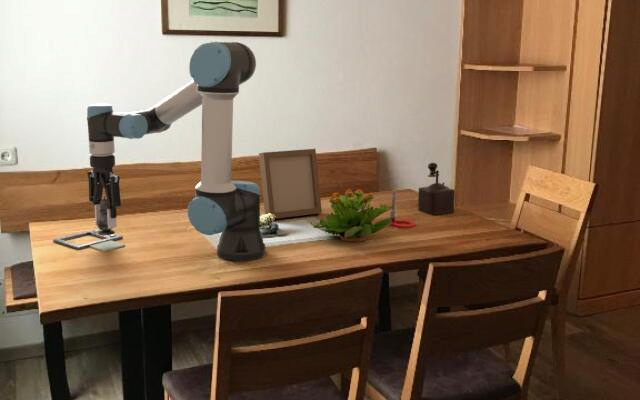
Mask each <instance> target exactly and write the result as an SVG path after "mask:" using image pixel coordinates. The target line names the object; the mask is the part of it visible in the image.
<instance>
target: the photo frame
mask: <svg viewBox="0 0 640 400" xmlns="http://www.w3.org/2000/svg"><path fill="white" fill-rule="evenodd" d="M316 153H317V152H316V148H308V149H305V148H304V149H291V150H282V151H281V150H279V151H267V152H260V153H258V160H259V169H260V179H261V189H262V198H263V207H264V215H265V214H268V213H271V214H274V215H275V216H276V220H277V219H282V218H283V219H285V218H292V217H293V218H294V217H299V216H306V215H316V214H323V210H322V203H321V202H322V201H321V199H322V198H321V189H320V180H319V171H318V160H317V154H316Z"/></svg>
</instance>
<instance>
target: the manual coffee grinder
mask: <svg viewBox="0 0 640 400" xmlns="http://www.w3.org/2000/svg"><path fill="white" fill-rule="evenodd" d="M427 168H428V170H429V174H428V175H427V177H428V178H435V182H434V183H432V184H430V185H428V186H422V187H418V198H417V199H418V201H417V203H418V205H417V206H418V208H417V209H418V211H420V212H422V213H423V214H424V213H425V214H428V215H430V216H442V215H443V216H444V215H448V214H454V213H455V211H454V209H455V193H456V192H455V191H456V190H455V189H452V188H450V187H449V186H448V185H445V182H442V183H440V182H439V176H440V171H439V169H437V168H438V164H437V163H435V162H430V163H428V165H427Z"/></svg>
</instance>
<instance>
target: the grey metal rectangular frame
mask: <svg viewBox="0 0 640 400" xmlns="http://www.w3.org/2000/svg"><path fill="white" fill-rule="evenodd" d="M99 231H101V230H100V229H99V228H96V229H92V230H86V231H83V232H78V233H73V234H71V235H66V236H62V237H57V238H53V239H52V241H53V243H57V244H59V245H63V246H66V247H69V248H72V249H74V250H77V251H79V250H82V249H87V248H91V247H90V246H91V245H94V244H98V243H102V242H106V241H110V240H111V241H117V240H121V239H123V238H124V237H123V235H121V234H118V233H114V234H111V235H99V234H98V232H99ZM83 236H84V237H85V236H93V237H96V238H99V239H100V240H99V239H98V240H95V241H92V242H87V243H84V244H80V245H79V244H76V243H73V242H70V241H68V240H71V239H76V238H80V237H83Z"/></svg>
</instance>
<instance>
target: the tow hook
mask: <svg viewBox="0 0 640 400" xmlns="http://www.w3.org/2000/svg"><path fill="white" fill-rule="evenodd" d="M396 193H397V192H396V189H393V192H392V194H393V195H392V199H391V206H393V207H392V209H390V214H389V215H390V216H389V218H391V219H392V220H391V222H390V223H389V224H388V225H387V226H389V227H391V226H392V227H396V228H400V229H411V228H414V227H415V226H416V223H415V222H413V221H411V220H407V219H396V215H395V214H396V199H397V198H396V197H397V196H396ZM401 223H402V224H401ZM403 223H404V224H403Z"/></svg>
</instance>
